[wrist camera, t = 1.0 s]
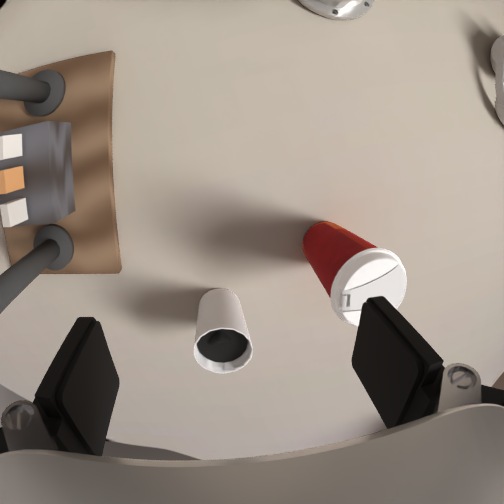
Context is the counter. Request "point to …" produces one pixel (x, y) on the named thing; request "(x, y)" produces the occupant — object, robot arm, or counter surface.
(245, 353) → the white cup
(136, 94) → the counter surface
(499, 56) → the headphones
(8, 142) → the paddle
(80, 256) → the breaker panel
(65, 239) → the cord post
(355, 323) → the coffee cup
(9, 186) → the paddle middle
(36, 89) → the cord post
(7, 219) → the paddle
